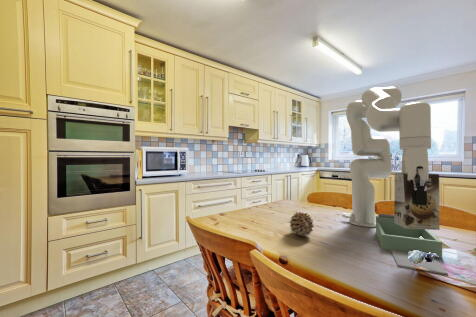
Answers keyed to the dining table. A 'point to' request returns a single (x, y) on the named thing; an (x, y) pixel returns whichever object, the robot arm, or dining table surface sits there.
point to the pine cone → (301, 224)
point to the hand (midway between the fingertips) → (415, 201)
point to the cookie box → (416, 214)
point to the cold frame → (405, 237)
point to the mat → (403, 262)
